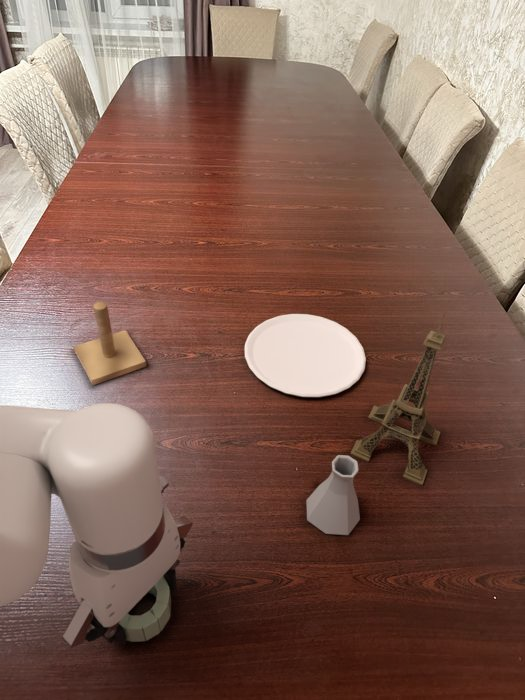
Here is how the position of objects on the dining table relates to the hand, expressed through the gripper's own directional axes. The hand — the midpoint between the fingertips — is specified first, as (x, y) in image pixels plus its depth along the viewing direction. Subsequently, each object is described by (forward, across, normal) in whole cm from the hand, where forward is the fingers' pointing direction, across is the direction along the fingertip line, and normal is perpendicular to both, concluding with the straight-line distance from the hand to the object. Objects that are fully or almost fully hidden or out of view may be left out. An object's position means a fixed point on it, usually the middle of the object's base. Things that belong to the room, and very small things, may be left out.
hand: (140, 606), depth 57 cm
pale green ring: (+1, 0, 0) cm, 1 cm away
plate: (+1, -46, -10) cm, 47 cm away
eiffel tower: (+1, -40, +11) cm, 41 cm away
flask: (+1, -24, +10) cm, 26 cm away
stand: (+1, -24, -34) cm, 41 cm away
